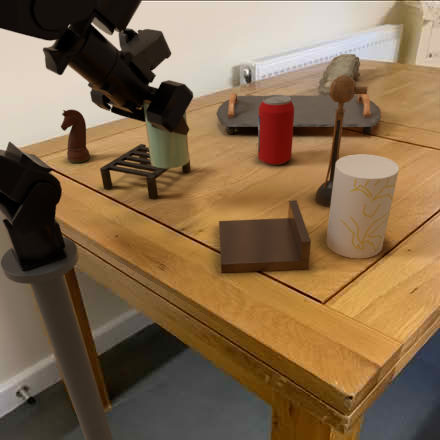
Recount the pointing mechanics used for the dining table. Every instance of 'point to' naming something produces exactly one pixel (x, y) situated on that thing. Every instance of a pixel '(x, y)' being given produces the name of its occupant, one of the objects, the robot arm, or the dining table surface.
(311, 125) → the serving tray
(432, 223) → the dining table surface
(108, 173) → the rack
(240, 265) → the shelf
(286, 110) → the beverage can
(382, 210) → the white patterned canister
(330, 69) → the elongated rock
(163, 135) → the green cup
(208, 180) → the dining table surface
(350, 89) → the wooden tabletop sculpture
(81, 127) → the chess piece
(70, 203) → the dining table surface
